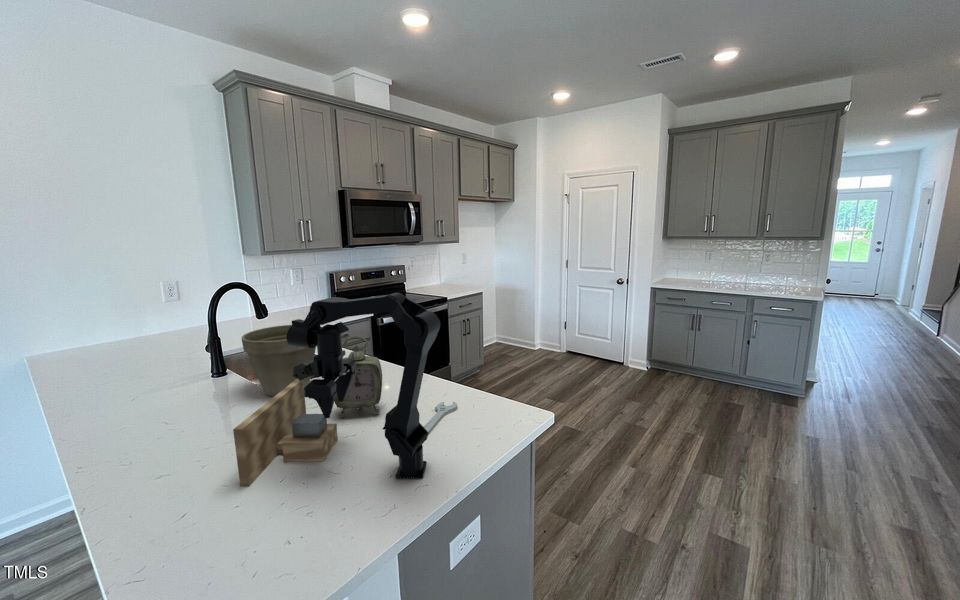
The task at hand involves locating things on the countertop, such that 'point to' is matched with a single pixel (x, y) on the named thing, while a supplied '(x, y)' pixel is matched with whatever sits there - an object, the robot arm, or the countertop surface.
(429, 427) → the adjustable wrench
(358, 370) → the tabletop clock
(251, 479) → the wooden desk organizer
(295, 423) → the grey rectangular block
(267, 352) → the plant pot
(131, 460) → the countertop surface
